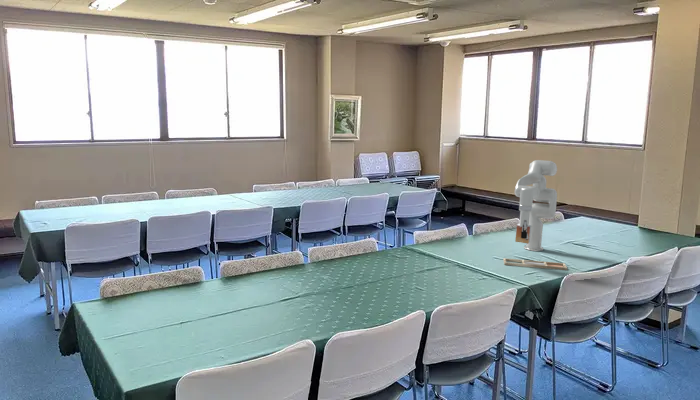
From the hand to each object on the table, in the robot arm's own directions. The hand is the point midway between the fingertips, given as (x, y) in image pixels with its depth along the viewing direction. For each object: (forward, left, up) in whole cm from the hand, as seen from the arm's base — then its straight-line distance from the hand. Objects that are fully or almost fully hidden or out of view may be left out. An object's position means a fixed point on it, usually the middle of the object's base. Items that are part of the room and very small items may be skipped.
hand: (523, 236), depth 321 cm
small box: (0, 0, -4) cm, 4 cm away
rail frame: (0, +8, -17) cm, 19 cm away
